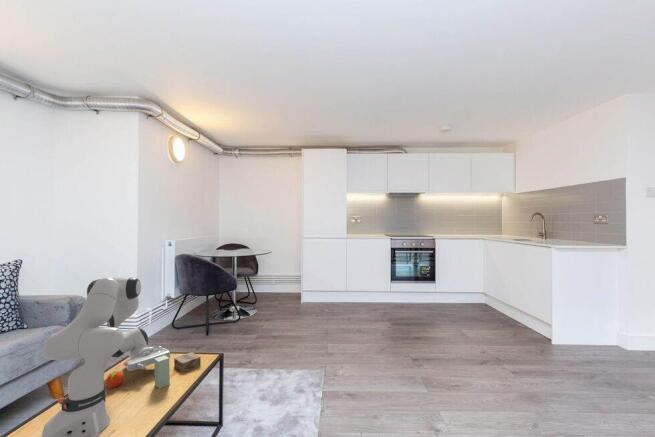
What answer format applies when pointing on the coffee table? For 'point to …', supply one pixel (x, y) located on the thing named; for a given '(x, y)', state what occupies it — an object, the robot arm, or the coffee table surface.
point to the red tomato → (114, 379)
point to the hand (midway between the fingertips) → (154, 364)
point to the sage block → (162, 371)
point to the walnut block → (187, 361)
